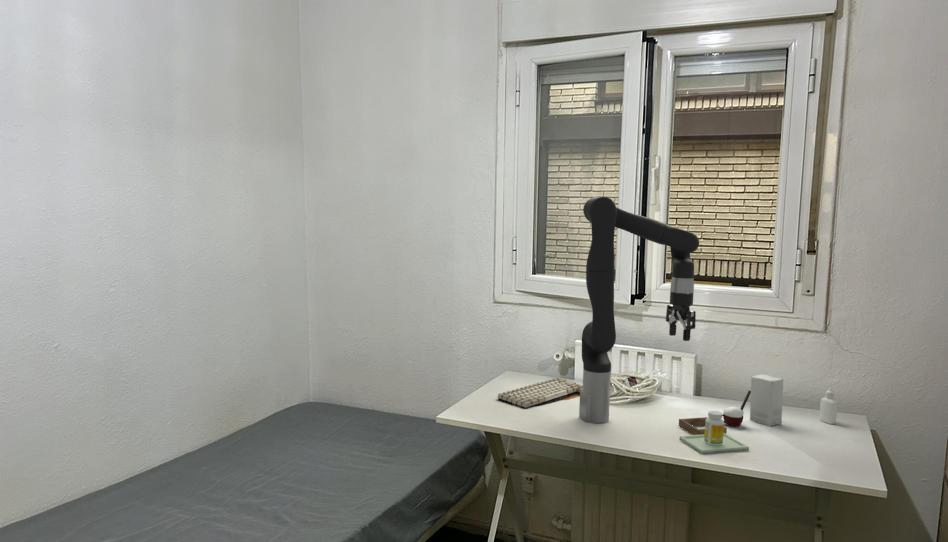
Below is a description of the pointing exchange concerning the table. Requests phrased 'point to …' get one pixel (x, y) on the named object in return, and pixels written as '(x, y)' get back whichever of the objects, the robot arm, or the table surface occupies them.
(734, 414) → the cocoa
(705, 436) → the supplement bottle
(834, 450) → the table surface
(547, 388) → the mechanical keyboard
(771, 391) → the skincare box
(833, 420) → the eye dropper bottle
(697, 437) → the tray
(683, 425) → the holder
